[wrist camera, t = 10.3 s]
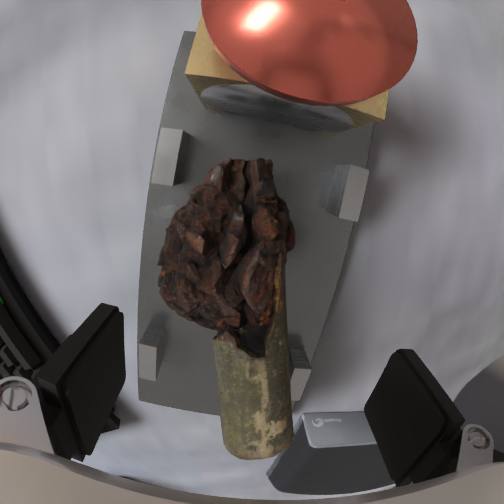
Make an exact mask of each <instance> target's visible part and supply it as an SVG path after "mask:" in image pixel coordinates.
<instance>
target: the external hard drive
mask: <svg viewBox="0 0 504 504" xmlns="http://www.w3.org/2000/svg"><path fill="white" fill-rule="evenodd" d="M293 431H294V438H293V440H292V442H291V444H290V446H289V447H288V448H287V449H286V450H285V451H284V452H282V453H281V454H279V455H278V456H277V458H276V459H275V461H274V463H273V464H272V466H271V467H270V469H269V470H268V472H267V473H266V474H267V476H268V478H269V480H270V481H271V483H272V484H273V486H274V487H275V488H276V489H277V490H279V491H281V492H285V493H293V494H308V495H333V494H347V493H355V492H361V491H367V490H372V489H376V488H380V487H384V486H388V485H391V484H394V483H395V482H394V480H392V479H391V478H390V475H389V473H388V470H387V468H386V465H385V463H384V460H383V458H382V455H381V453H380V450H379V448H378V445H377V443H376V440H375V438H374V435H373V433H372V430H371V428H370V426H369V423H368V421H367V418H366V416H365V413H364V412H333V413H304V414H303V415H301V417H300V419H299V421H298V423H297V425H296V426H295V428H294V430H293Z"/></svg>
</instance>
